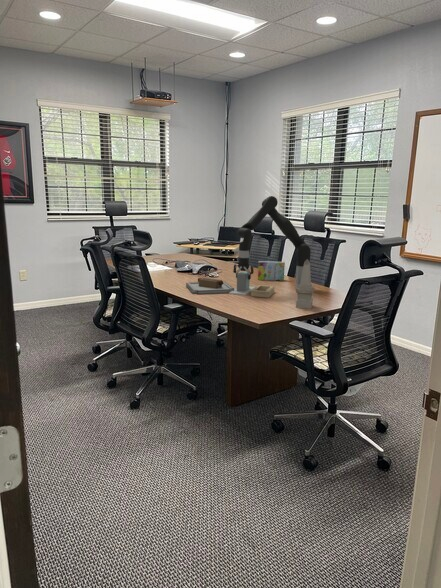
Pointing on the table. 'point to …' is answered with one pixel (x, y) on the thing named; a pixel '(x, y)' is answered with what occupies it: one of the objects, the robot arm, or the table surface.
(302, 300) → the miniature monument
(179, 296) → the table surface
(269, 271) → the snack box
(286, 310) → the table surface
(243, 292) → the mat
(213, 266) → the table surface
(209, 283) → the gray tray
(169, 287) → the table surface
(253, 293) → the carton
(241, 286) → the box
